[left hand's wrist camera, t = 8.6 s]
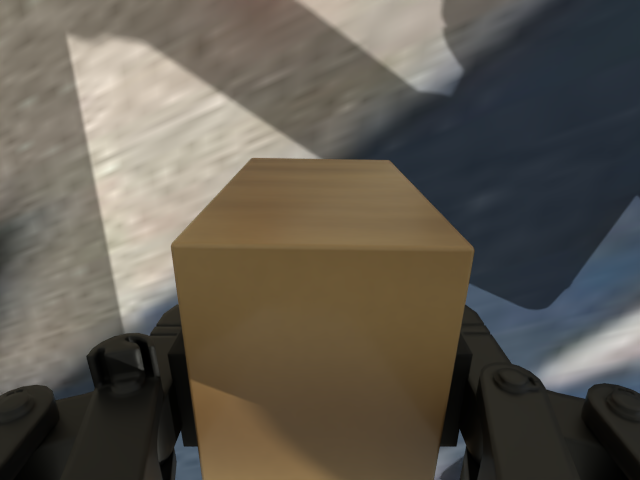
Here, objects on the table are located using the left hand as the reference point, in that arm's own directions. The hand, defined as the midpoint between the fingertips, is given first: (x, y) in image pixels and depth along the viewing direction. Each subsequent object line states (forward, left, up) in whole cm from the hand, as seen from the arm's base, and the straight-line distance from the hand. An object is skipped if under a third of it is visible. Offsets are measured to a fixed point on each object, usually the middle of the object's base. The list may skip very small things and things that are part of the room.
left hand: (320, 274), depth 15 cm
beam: (+8, +25, 0) cm, 26 cm away
